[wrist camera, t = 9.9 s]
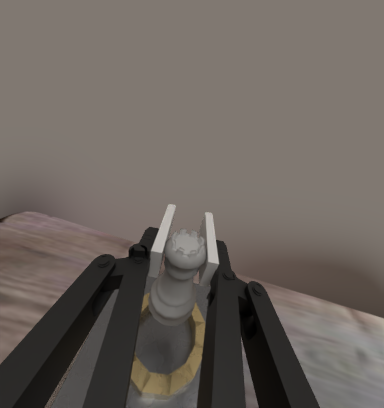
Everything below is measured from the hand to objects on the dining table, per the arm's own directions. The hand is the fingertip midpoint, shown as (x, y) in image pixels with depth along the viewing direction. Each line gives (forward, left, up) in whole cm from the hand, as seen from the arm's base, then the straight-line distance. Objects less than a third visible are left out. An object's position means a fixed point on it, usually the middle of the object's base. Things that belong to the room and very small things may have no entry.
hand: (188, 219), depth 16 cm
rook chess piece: (+3, +5, -6) cm, 8 cm away
